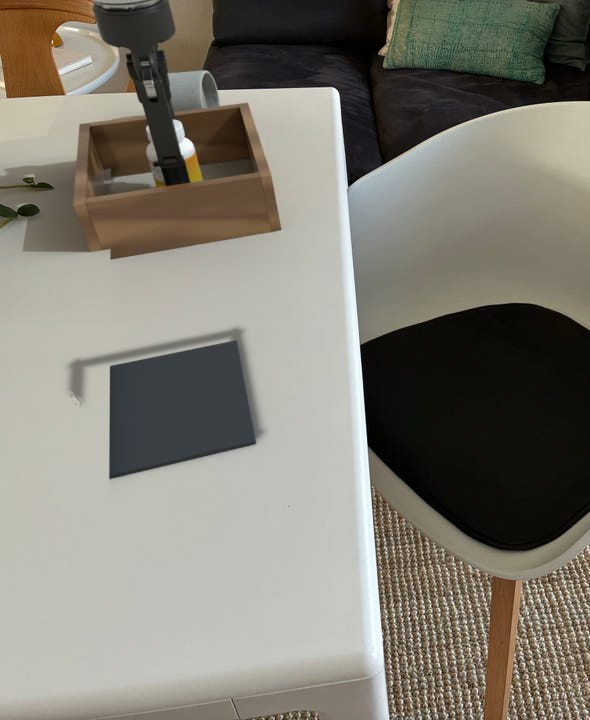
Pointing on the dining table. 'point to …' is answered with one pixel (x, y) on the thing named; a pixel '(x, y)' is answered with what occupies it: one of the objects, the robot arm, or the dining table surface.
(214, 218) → the wooden box
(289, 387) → the dining table surface
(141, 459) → the slate mat
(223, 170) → the dining table surface
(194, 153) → the supplement bottle
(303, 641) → the dining table surface
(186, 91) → the ceramic mug
